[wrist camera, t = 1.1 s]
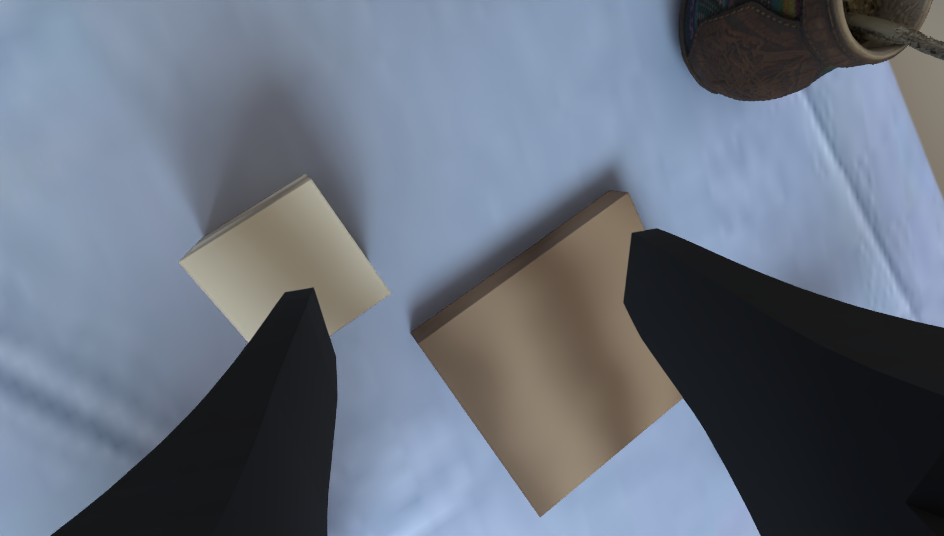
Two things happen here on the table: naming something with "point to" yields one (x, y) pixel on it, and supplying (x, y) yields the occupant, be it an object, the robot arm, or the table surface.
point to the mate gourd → (793, 41)
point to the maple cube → (284, 261)
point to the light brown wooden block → (554, 355)
